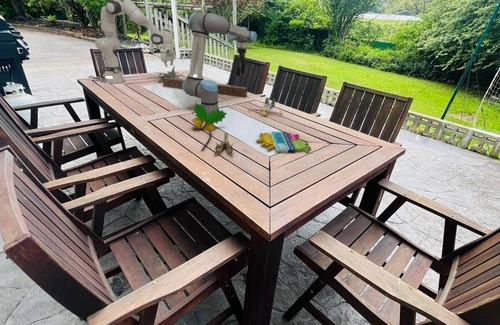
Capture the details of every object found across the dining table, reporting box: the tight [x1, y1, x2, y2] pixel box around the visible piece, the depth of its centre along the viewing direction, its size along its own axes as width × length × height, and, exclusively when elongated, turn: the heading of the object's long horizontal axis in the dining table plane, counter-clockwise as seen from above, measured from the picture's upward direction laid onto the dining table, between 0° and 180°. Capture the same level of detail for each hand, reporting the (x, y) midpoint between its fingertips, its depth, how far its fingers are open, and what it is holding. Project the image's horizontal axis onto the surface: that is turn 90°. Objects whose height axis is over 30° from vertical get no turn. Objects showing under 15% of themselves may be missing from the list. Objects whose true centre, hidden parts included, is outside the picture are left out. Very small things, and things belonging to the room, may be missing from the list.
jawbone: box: [214, 131, 234, 156], centre depth 136 cm, size 9×15×10 cm
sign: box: [256, 131, 312, 154], centre depth 152 cm, size 26×2×30 cm
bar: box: [162, 77, 248, 98], centre depth 241 cm, size 81×6×8 cm, turn 75°
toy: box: [246, 97, 284, 117], centre depth 201 cm, size 28×7×30 cm
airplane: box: [157, 65, 185, 83], centre depth 276 cm, size 38×32×10 cm
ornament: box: [191, 102, 228, 132], centre depth 162 cm, size 21×8×15 cm, turn 105°
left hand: (169, 65), depth 240 cm, fingers open, 8 cm apart
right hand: (240, 74), depth 227 cm, fingers open, 13 cm apart
